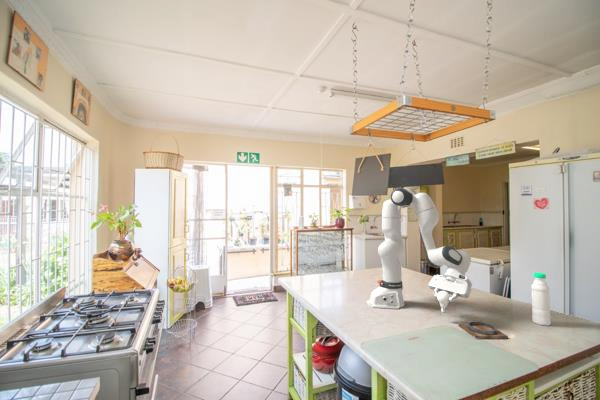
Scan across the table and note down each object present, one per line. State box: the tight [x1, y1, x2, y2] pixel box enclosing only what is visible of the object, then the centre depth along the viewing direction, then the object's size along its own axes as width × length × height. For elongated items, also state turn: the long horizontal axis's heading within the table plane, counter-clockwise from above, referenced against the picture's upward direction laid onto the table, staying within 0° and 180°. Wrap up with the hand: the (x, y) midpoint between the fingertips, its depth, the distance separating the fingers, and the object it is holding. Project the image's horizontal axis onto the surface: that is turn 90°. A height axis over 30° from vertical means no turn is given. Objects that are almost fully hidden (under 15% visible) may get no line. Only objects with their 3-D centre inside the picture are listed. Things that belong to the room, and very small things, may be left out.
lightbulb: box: [436, 291, 451, 314], centre depth 143 cm, size 6×6×11 cm
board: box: [458, 322, 509, 340], centre depth 131 cm, size 14×14×1 cm
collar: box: [467, 320, 498, 335], centre depth 131 cm, size 12×12×2 cm
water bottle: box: [530, 271, 552, 327], centre depth 141 cm, size 7×7×25 cm
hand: (442, 299), depth 143 cm, fingers closed on lightbulb, 6 cm apart
